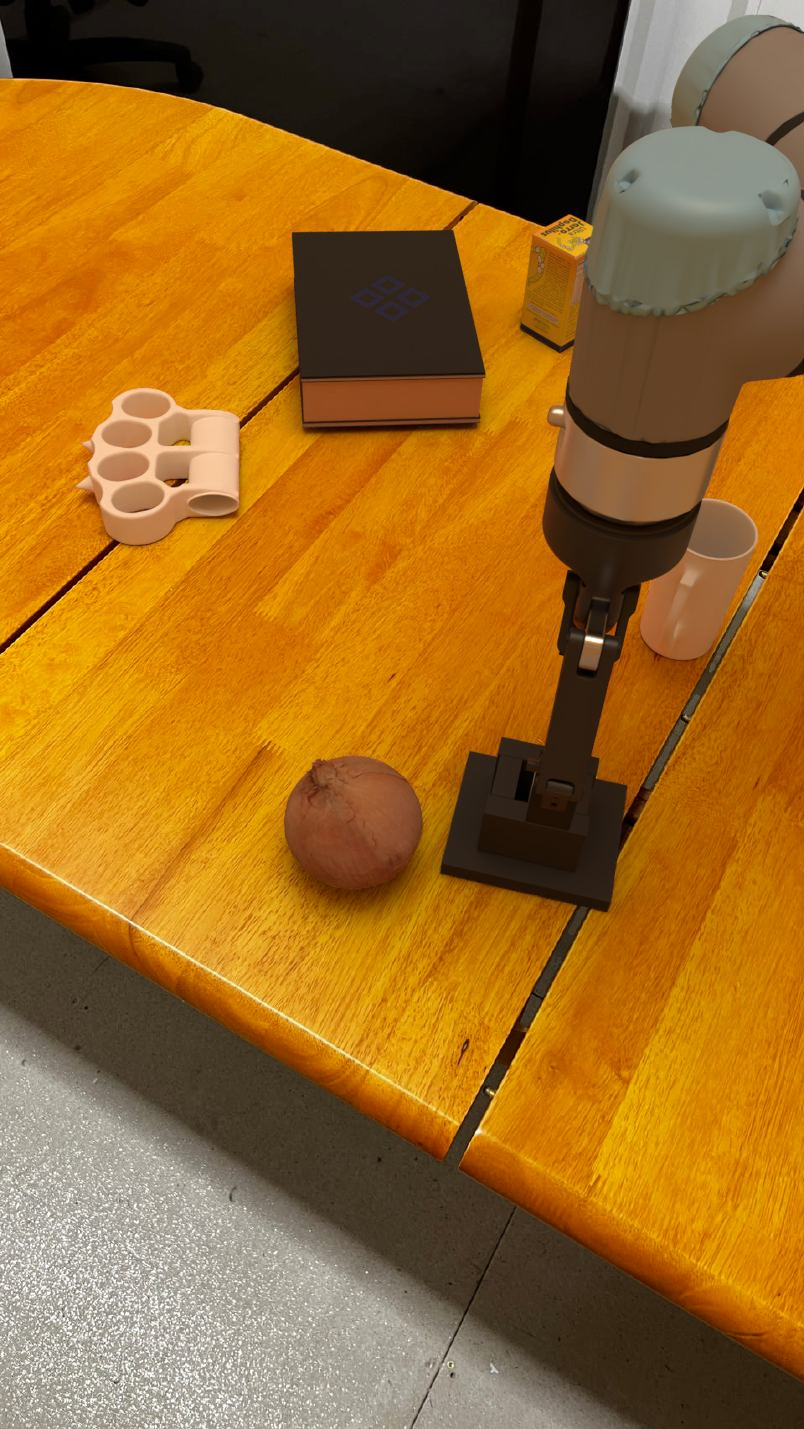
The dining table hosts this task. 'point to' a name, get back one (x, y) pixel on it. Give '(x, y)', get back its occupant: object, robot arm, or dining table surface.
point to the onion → (353, 822)
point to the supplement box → (555, 282)
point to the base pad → (578, 888)
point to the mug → (699, 583)
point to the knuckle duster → (161, 465)
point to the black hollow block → (507, 816)
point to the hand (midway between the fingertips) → (564, 733)
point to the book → (384, 330)
